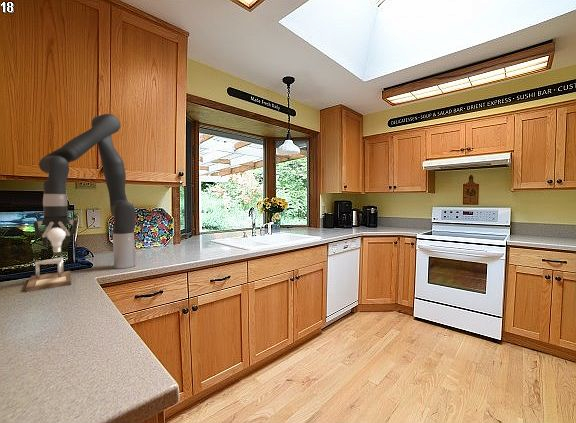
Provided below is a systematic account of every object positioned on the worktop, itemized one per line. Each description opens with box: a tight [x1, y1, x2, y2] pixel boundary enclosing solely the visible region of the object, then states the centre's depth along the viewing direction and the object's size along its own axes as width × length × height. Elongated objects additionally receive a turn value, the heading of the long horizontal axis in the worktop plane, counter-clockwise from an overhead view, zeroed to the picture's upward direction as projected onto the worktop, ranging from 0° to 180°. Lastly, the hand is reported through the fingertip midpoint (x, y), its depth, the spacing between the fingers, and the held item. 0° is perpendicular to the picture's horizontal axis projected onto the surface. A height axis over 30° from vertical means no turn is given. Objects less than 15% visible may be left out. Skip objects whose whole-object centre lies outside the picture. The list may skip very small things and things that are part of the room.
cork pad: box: [35, 276, 66, 286], centre depth 108 cm, size 9×7×1 cm
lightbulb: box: [46, 227, 67, 254], centre depth 112 cm, size 6×6×11 cm
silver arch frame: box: [34, 256, 65, 279], centre depth 115 cm, size 9×9×7 cm
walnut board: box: [25, 270, 72, 292], centre depth 112 cm, size 13×20×2 cm, turn 39°
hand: (56, 245), depth 112 cm, fingers closed on lightbulb, 6 cm apart
